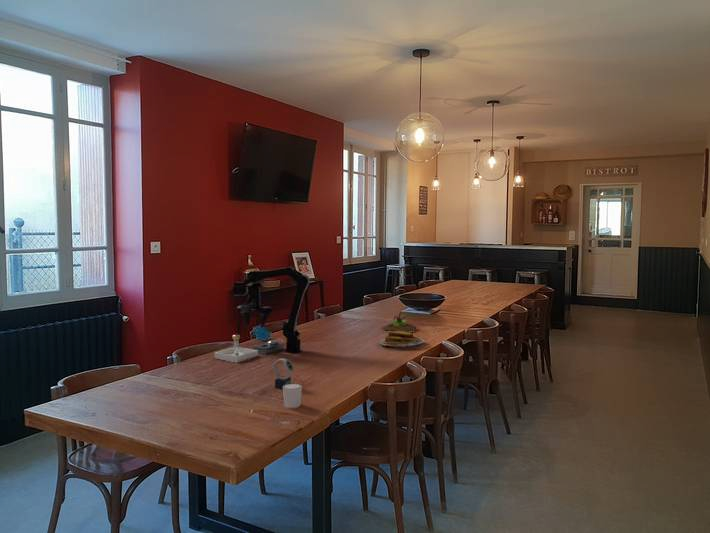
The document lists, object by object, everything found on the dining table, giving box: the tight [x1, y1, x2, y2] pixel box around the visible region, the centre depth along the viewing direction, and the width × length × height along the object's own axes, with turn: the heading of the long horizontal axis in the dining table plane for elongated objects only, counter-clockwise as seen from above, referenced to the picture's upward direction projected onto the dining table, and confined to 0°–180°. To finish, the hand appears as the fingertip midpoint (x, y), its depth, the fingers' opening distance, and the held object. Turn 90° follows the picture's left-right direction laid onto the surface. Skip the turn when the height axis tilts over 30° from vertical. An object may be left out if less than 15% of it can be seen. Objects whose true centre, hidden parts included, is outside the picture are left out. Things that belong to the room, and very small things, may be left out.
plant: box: [381, 311, 418, 332], centre depth 328 cm, size 20×20×11 cm
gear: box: [253, 325, 272, 342], centre depth 300 cm, size 11×6×10 cm
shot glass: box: [282, 383, 303, 409], centre depth 192 cm, size 7×7×7 cm
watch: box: [272, 358, 294, 390], centre depth 215 cm, size 6×8×11 cm
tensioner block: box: [252, 339, 285, 355], centre depth 274 cm, size 8×14×4 cm, turn 149°
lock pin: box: [231, 334, 241, 356], centre depth 260 cm, size 4×4×10 cm
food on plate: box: [377, 331, 426, 349], centre depth 288 cm, size 25×25×7 cm
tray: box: [213, 346, 259, 364], centre depth 260 cm, size 15×15×3 cm
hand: (255, 326), depth 273 cm, fingers open, 9 cm apart
